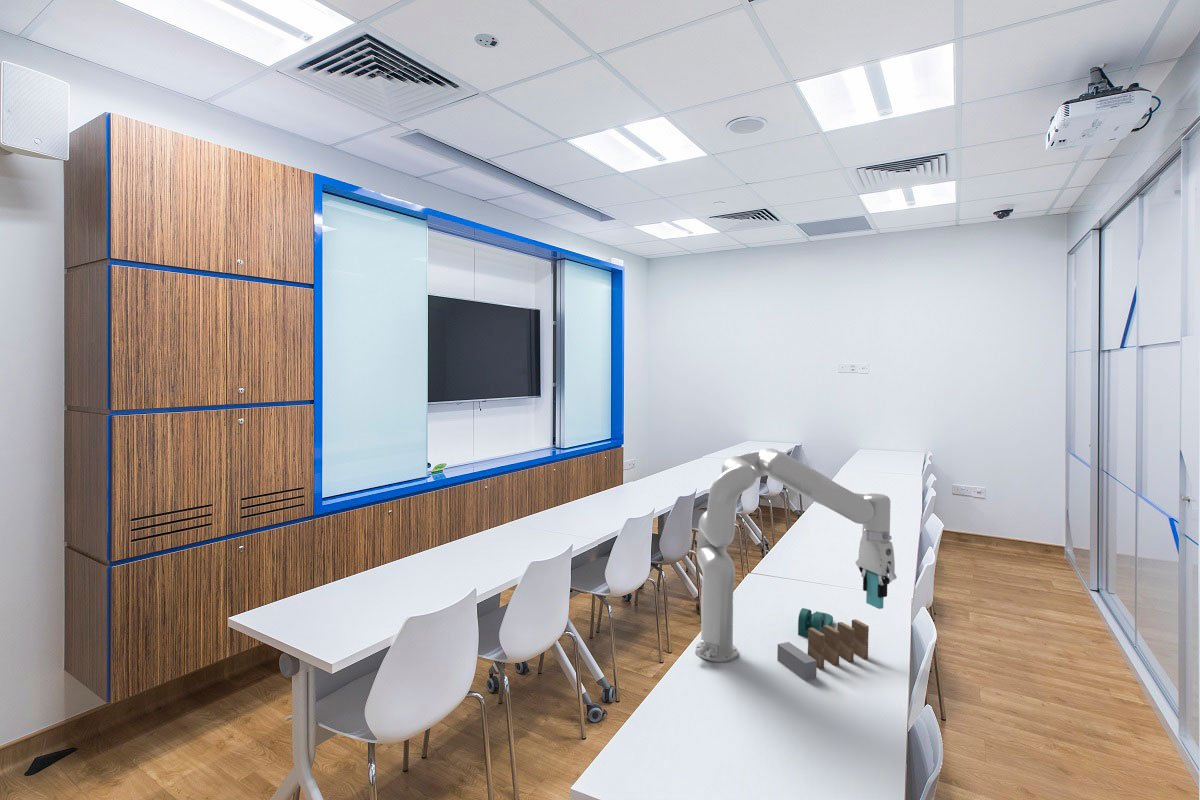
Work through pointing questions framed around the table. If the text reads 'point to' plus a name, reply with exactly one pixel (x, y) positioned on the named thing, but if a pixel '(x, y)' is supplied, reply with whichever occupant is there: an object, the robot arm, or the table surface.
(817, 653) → the domino
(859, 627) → the domino
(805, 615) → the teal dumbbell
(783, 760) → the table surface
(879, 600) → the teal domino
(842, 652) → the domino
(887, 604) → the table surface
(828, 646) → the domino
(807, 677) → the block
